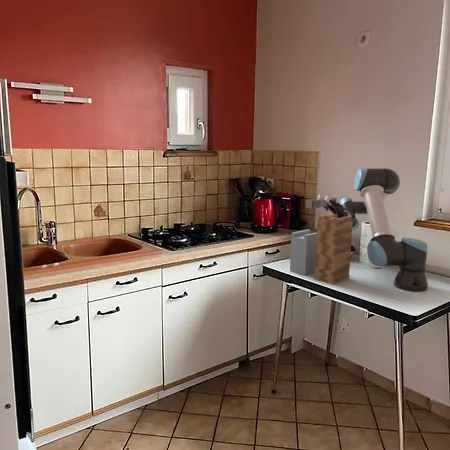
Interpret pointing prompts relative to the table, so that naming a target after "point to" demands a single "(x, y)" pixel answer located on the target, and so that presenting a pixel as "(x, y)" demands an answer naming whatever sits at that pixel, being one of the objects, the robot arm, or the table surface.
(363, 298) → the table surface
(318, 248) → the stand
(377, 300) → the table surface
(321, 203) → the grey bar
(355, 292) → the table surface
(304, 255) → the block
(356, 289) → the table surface
